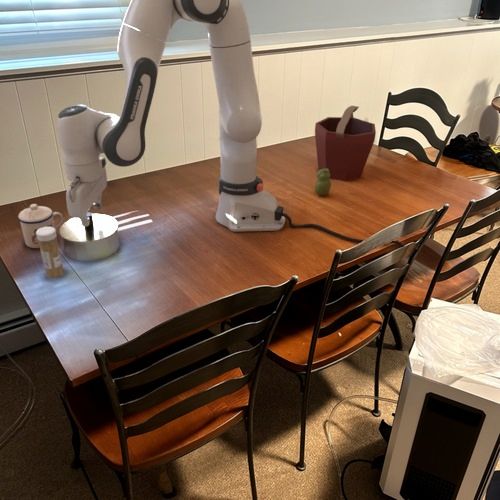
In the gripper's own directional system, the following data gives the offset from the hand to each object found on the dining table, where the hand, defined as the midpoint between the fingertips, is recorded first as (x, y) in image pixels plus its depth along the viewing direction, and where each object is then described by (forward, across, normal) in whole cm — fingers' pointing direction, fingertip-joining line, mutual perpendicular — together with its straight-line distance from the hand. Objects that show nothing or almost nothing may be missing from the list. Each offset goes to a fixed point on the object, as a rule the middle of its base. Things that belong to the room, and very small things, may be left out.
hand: (92, 216), depth 134 cm
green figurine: (+12, +44, -66) cm, 80 cm away
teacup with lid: (+10, +2, +16) cm, 19 cm away
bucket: (+12, +66, -75) cm, 101 cm away
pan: (+10, -1, +1) cm, 10 cm away
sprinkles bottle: (+10, -15, +6) cm, 19 cm away
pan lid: (+4, -1, +1) cm, 4 cm away
